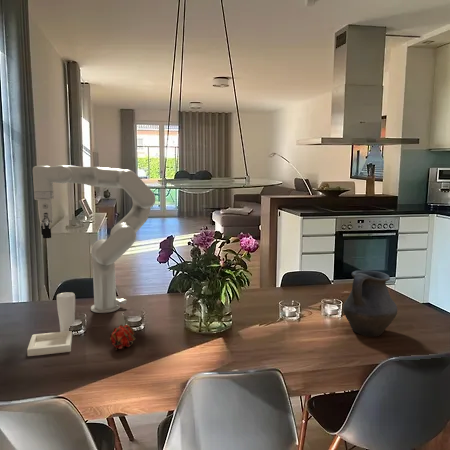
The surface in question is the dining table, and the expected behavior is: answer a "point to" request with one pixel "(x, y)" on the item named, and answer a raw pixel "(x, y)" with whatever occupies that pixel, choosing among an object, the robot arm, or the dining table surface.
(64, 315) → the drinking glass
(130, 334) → the dragon fruit
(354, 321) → the pitcher
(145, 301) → the dining table surface
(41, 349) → the tray
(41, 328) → the dining table surface
